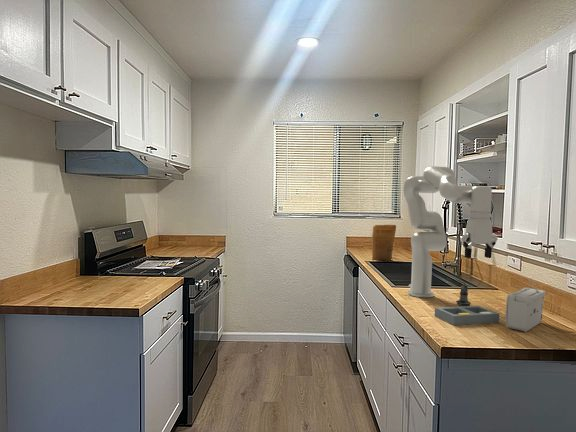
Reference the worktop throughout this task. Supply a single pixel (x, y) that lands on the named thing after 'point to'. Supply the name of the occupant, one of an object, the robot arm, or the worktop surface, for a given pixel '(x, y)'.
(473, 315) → the socket board
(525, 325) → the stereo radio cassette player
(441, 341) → the worktop surface
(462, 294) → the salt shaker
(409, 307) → the worktop surface
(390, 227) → the pancake mix bag
